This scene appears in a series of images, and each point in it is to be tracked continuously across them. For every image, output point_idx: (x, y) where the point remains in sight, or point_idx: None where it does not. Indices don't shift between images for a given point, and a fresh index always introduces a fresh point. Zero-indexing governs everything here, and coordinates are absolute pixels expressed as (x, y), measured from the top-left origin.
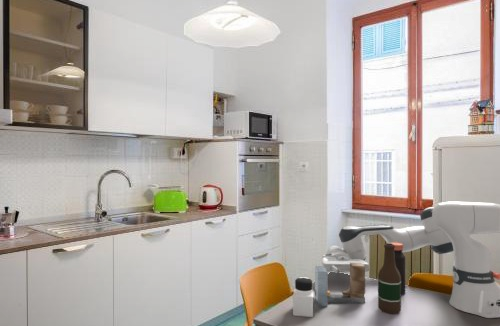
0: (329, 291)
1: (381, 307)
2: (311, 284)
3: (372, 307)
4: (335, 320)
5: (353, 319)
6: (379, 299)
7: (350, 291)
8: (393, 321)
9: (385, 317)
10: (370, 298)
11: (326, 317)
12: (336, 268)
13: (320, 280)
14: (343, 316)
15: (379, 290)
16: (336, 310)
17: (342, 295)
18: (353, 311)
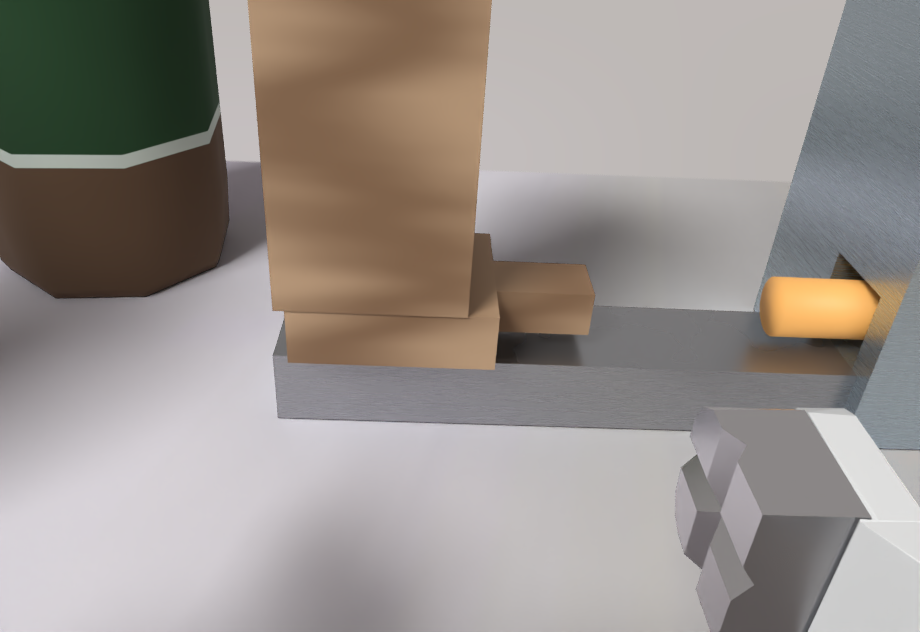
0: (785, 278)
1: (226, 196)
2: None
3: (266, 286)
4: (662, 183)
5: (527, 184)
6: (216, 149)
7: (480, 270)
8: (235, 161)
9: (259, 188)
10: (120, 455)
11: (733, 205)
12: (847, 452)
13: None
14: (599, 207)
15: (204, 48)
16: (656, 262)
17: (586, 346)
18: (497, 247)
